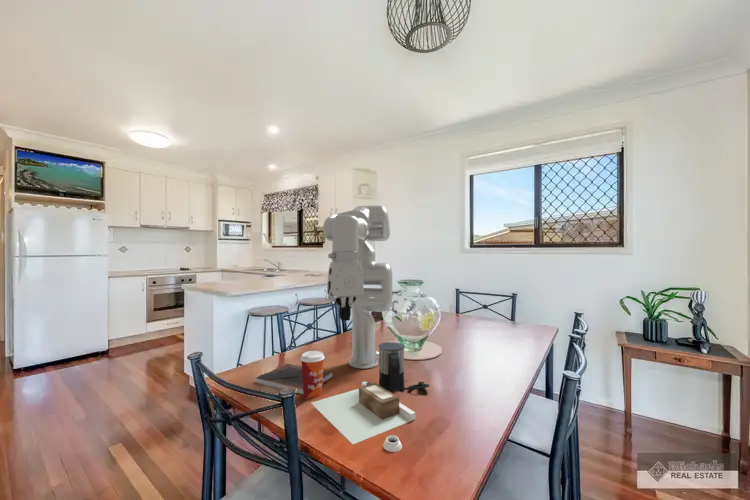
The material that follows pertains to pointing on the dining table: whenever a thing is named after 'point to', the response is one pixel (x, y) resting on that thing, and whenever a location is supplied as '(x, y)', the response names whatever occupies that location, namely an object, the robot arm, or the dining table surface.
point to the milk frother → (394, 368)
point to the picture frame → (287, 377)
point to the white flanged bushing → (392, 444)
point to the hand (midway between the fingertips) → (344, 319)
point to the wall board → (358, 416)
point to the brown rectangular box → (379, 400)
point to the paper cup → (312, 373)
